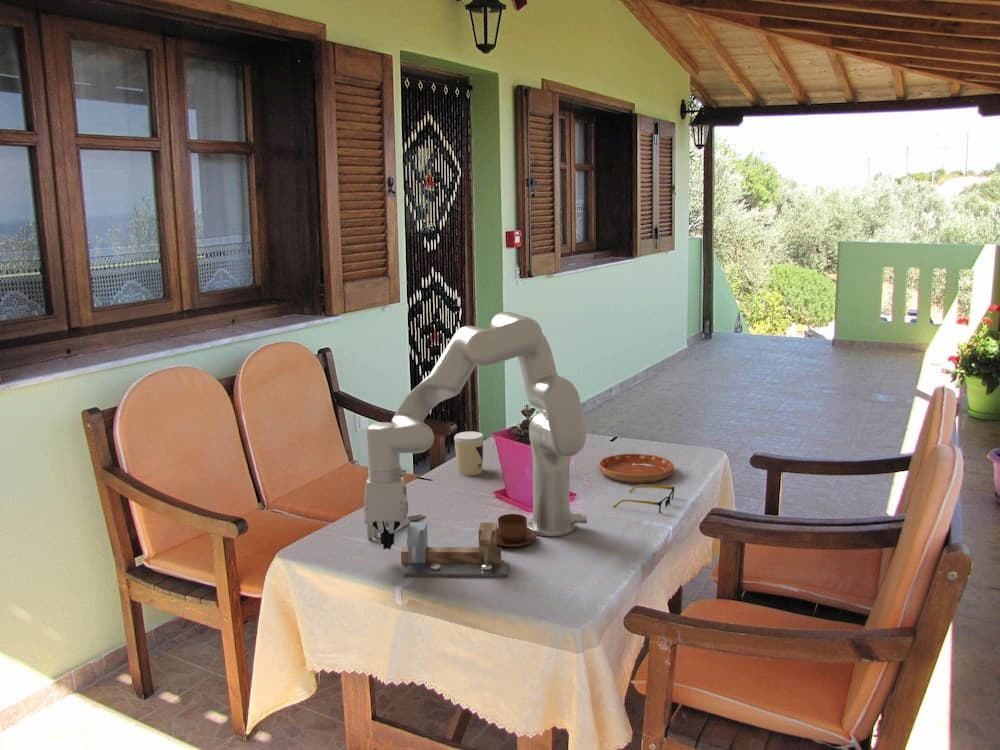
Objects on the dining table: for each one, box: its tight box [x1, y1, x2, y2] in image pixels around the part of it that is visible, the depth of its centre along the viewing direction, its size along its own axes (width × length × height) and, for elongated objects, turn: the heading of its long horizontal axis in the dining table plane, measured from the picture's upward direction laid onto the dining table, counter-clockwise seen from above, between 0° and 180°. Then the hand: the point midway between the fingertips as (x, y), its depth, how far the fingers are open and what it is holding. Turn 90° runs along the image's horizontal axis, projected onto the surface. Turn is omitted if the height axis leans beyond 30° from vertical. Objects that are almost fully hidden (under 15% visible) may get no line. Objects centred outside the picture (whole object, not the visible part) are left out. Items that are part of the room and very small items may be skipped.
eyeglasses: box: [612, 484, 675, 513], centre depth 262 cm, size 14×14×4 cm
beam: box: [400, 522, 502, 565], centre depth 220 cm, size 24×11×9 cm, turn 87°
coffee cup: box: [453, 431, 485, 477], centre depth 291 cm, size 9×9×12 cm
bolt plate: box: [403, 563, 510, 578], centre depth 218 cm, size 24×6×2 cm, turn 87°
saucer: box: [598, 453, 675, 484], centre depth 287 cm, size 23×23×4 cm
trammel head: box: [406, 521, 429, 563], centre depth 221 cm, size 4×11×9 cm, turn 177°
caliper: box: [366, 512, 426, 540], centre depth 246 cm, size 21×1×6 cm, turn 142°
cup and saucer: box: [497, 513, 537, 548], centre depth 235 cm, size 12×12×6 cm
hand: (387, 546), depth 224 cm, fingers closed
